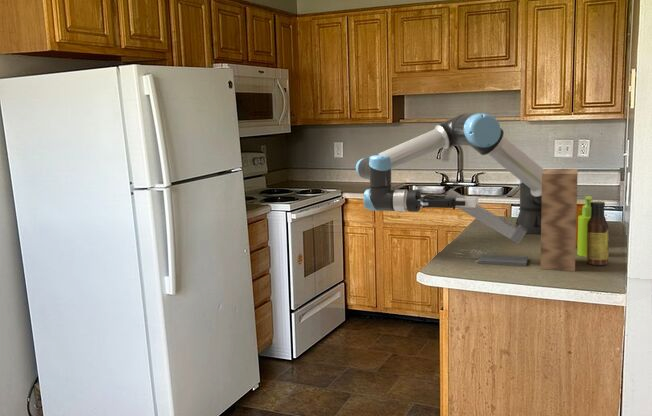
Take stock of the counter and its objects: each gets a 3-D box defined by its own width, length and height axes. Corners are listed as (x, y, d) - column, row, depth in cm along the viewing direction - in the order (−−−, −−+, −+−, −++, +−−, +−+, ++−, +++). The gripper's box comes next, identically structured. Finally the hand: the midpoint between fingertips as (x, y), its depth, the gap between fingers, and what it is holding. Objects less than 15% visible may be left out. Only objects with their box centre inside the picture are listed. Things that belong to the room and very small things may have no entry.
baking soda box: (572, 241, 224) (573, 198, 222) (591, 242, 222) (592, 199, 220) (573, 247, 216) (574, 203, 213) (593, 248, 213) (594, 203, 211)
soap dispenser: (577, 257, 202) (578, 197, 199) (577, 252, 208) (578, 194, 205) (596, 258, 200) (598, 198, 197) (595, 253, 206) (597, 195, 203)
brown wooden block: (540, 269, 189) (542, 173, 185) (542, 258, 202) (544, 168, 197) (575, 271, 186) (577, 173, 181) (575, 260, 198) (577, 168, 194)
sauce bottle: (612, 265, 190) (614, 202, 187) (594, 267, 189) (596, 204, 186) (599, 260, 197) (601, 200, 193) (582, 261, 196) (583, 201, 193)
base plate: (478, 263, 199) (478, 260, 199) (482, 256, 207) (482, 254, 207) (526, 266, 193) (526, 263, 193) (528, 259, 202) (528, 256, 201)
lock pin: (443, 199, 202) (450, 187, 201) (446, 197, 207) (453, 185, 205) (518, 244, 195) (526, 232, 194) (519, 241, 200) (527, 229, 198)
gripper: (414, 207, 218) (480, 209, 209) (401, 215, 203) (472, 217, 194) (413, 186, 217) (480, 187, 208) (401, 193, 201) (472, 194, 192)
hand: (476, 202), depth 201 cm, fingers closed on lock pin, 4 cm apart
